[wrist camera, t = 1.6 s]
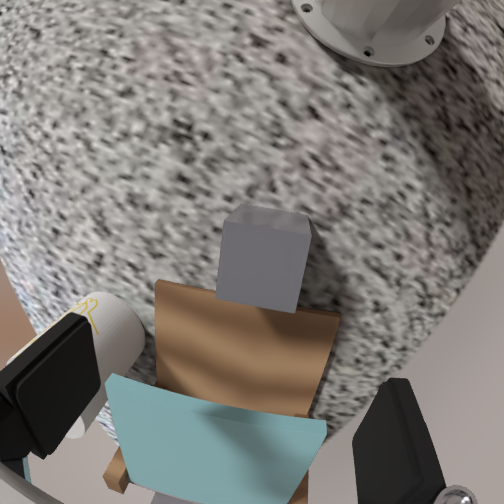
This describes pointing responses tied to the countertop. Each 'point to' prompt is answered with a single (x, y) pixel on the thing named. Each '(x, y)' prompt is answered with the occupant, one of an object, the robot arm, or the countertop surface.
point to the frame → (236, 358)
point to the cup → (105, 346)
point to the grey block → (263, 257)
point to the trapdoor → (209, 447)
